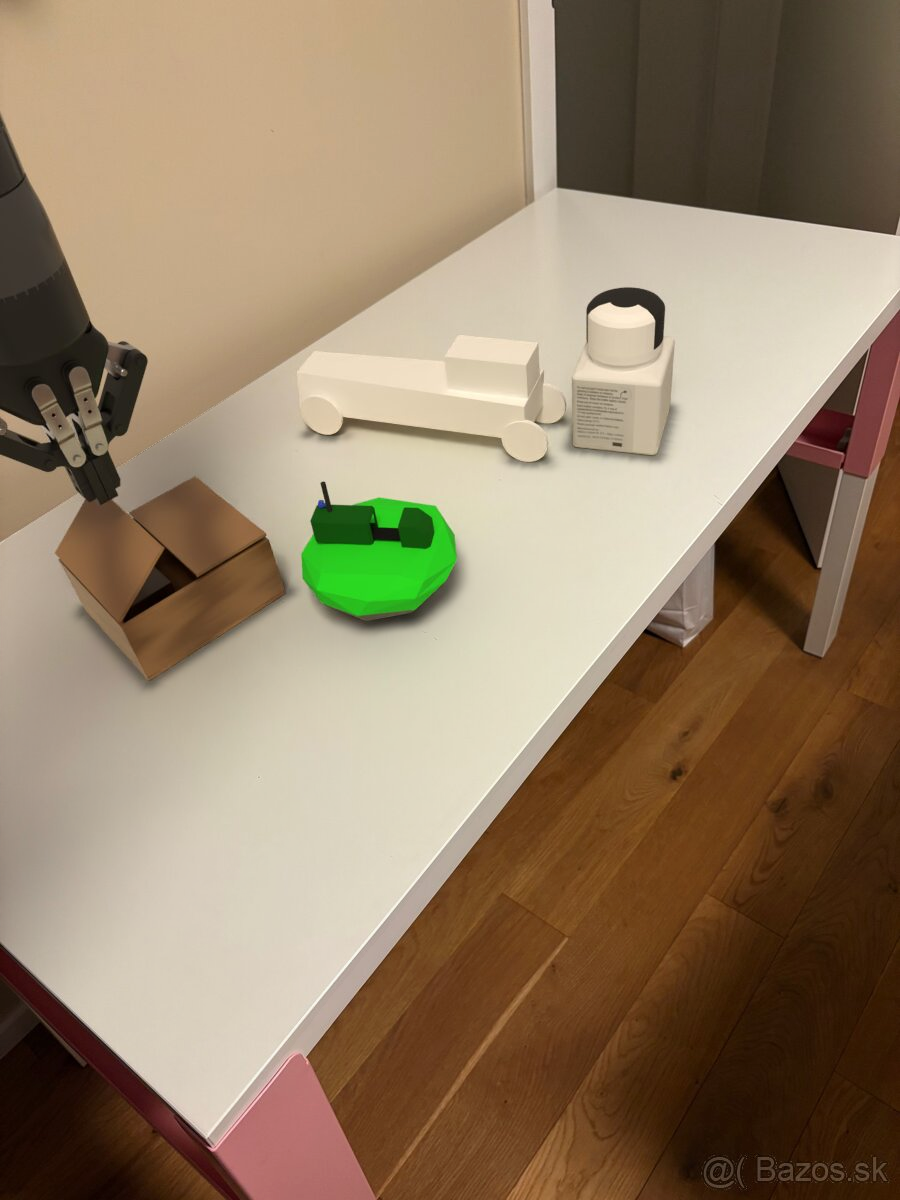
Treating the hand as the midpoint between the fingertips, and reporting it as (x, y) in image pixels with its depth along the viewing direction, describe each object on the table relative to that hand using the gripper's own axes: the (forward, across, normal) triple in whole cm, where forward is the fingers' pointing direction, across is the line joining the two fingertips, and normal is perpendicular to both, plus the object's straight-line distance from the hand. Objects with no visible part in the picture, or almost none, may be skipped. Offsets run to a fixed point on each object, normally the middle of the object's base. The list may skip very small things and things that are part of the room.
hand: (104, 496), depth 68 cm
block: (+12, -1, 0) cm, 12 cm away
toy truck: (+13, +32, +3) cm, 34 cm away
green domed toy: (+13, +14, -12) cm, 23 cm away
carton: (+13, +2, 0) cm, 13 cm away
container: (+13, +43, -11) cm, 47 cm away
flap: (+4, -1, 0) cm, 5 cm away
